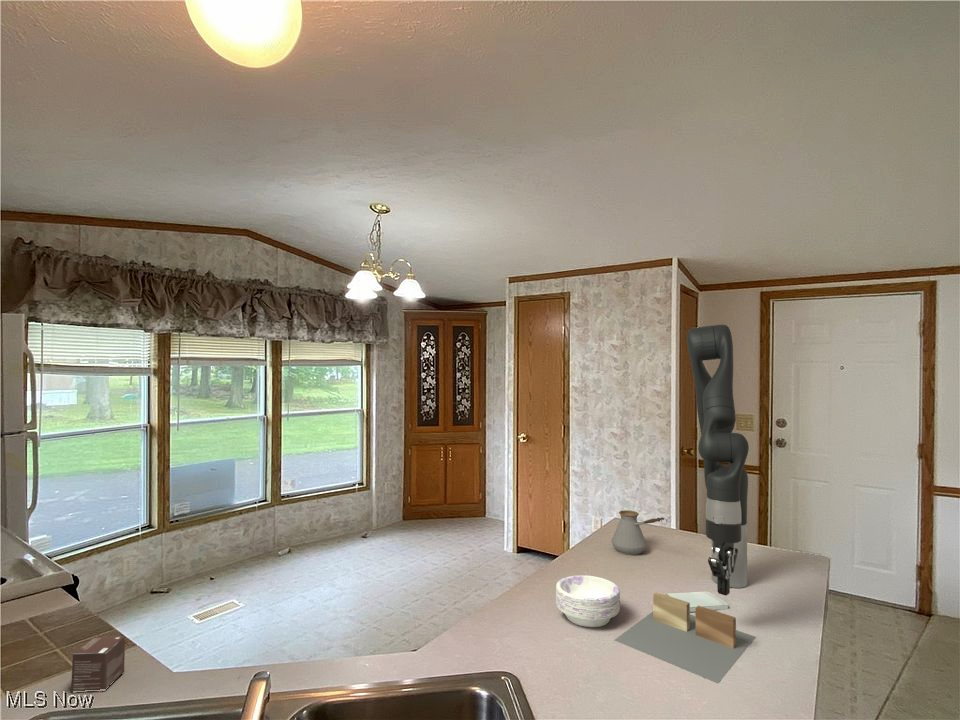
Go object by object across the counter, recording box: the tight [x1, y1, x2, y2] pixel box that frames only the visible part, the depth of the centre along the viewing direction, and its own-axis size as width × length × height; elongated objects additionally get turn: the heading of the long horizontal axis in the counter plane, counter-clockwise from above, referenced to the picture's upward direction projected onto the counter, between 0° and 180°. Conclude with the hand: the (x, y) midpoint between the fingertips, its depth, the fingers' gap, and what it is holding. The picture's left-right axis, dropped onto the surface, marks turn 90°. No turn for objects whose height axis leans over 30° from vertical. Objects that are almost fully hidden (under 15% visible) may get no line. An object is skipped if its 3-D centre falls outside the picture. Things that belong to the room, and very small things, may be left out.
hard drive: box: [665, 591, 729, 613], centre depth 128 cm, size 2×8×12 cm
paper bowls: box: [555, 574, 621, 628], centre depth 121 cm, size 15×15×8 cm
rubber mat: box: [614, 611, 757, 684], centre depth 111 cm, size 24×22×1 cm
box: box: [70, 635, 126, 693], centre depth 95 cm, size 6×6×7 cm
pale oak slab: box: [652, 591, 691, 632], centre depth 118 cm, size 2×8×6 cm, turn 45°
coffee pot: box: [610, 509, 668, 556], centre depth 164 cm, size 21×12×15 cm, turn 27°
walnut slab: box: [694, 606, 737, 648], centre depth 111 cm, size 2×8×6 cm, turn 45°
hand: (723, 593), depth 116 cm, fingers closed
